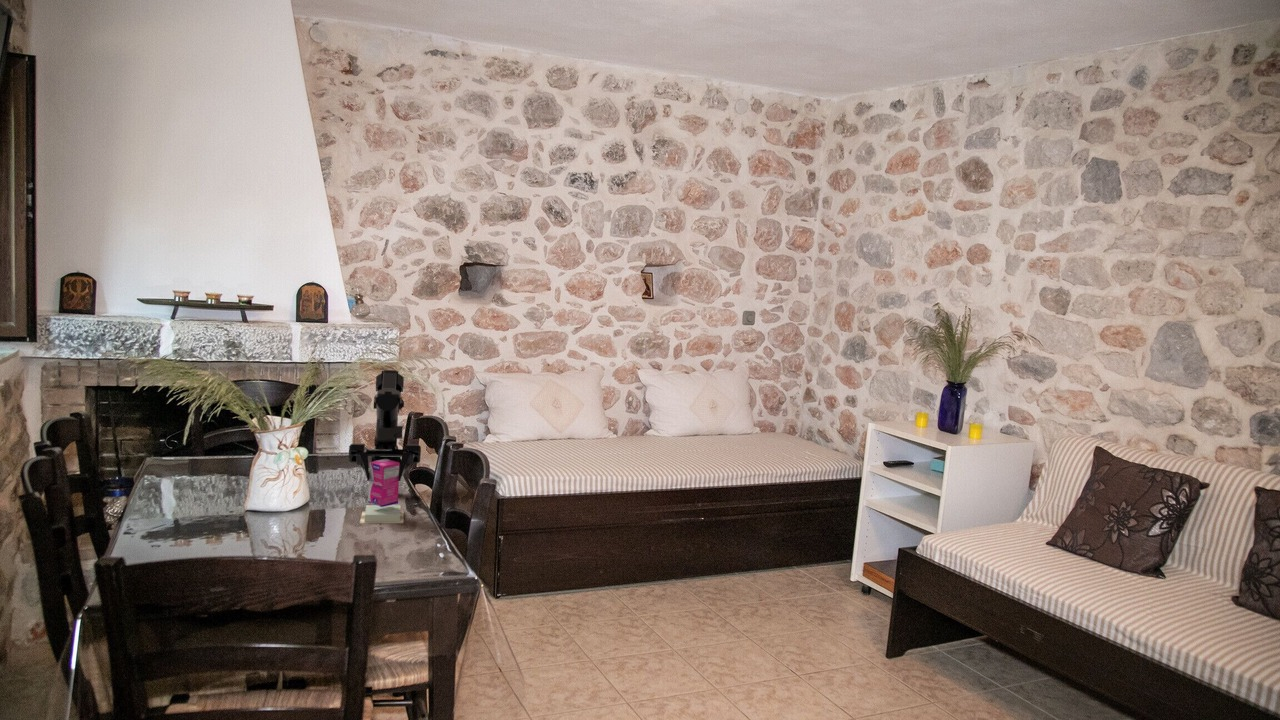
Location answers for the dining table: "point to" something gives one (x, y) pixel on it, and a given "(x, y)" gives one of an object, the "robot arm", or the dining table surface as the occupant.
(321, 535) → the dining table surface
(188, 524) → the dining table surface
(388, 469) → the supplement box
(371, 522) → the tower base block
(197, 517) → the dining table surface
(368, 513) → the tower top block
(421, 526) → the dining table surface
